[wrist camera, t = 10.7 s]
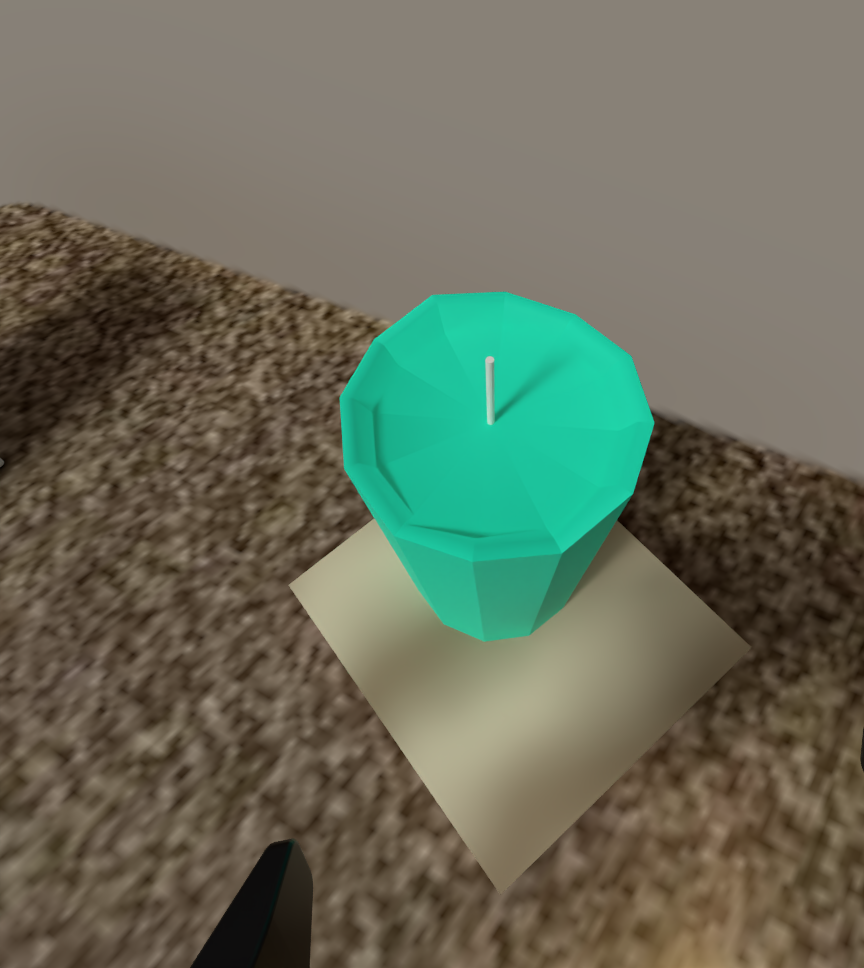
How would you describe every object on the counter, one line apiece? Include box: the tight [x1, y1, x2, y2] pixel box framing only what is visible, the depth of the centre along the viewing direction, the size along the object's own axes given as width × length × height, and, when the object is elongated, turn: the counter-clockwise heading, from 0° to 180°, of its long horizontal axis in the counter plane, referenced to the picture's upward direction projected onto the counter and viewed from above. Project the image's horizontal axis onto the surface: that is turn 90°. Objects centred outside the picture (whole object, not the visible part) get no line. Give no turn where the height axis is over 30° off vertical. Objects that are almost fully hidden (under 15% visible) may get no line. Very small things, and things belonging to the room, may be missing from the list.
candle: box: [340, 292, 654, 642], centre depth 14 cm, size 6×6×12 cm
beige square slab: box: [289, 518, 752, 895], centre depth 20 cm, size 12×11×2 cm
